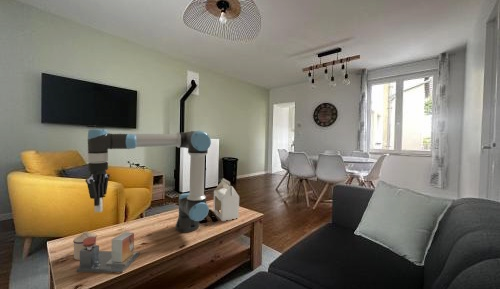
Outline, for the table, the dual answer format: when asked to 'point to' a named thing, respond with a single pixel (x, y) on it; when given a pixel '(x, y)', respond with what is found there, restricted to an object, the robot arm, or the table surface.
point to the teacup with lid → (81, 243)
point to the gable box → (226, 201)
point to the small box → (122, 247)
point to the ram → (89, 242)
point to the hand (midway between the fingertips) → (98, 211)
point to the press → (102, 261)
